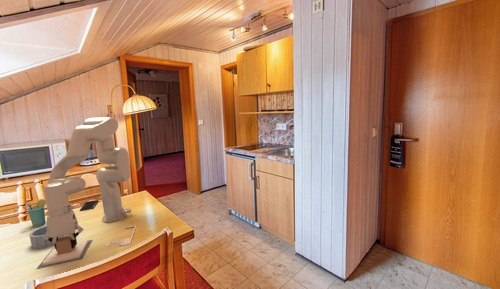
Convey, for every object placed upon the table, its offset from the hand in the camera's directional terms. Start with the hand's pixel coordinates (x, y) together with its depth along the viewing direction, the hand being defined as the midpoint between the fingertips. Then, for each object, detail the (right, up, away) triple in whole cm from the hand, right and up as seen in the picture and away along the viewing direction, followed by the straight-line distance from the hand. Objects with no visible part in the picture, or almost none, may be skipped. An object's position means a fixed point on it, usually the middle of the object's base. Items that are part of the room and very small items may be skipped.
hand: (66, 247), depth 103 cm
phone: (-27, +4, +54) cm, 60 cm away
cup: (-39, 0, +28) cm, 48 cm away
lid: (0, -2, 0) cm, 2 cm away
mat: (0, -3, 0) cm, 3 cm away
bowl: (-18, -2, +11) cm, 21 cm away
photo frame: (+16, -1, +12) cm, 20 cm away
